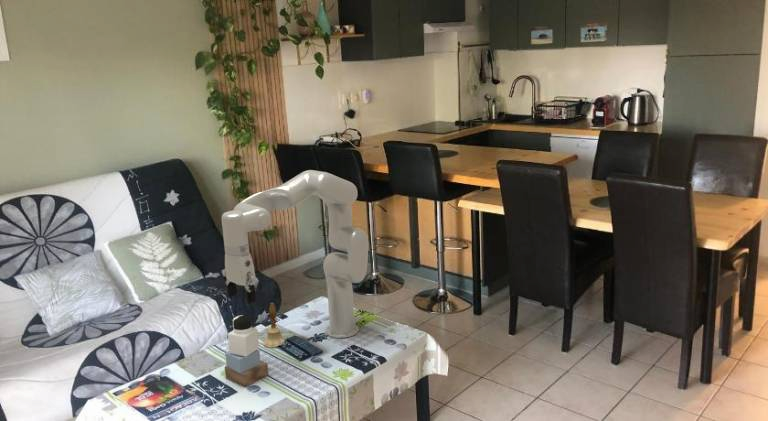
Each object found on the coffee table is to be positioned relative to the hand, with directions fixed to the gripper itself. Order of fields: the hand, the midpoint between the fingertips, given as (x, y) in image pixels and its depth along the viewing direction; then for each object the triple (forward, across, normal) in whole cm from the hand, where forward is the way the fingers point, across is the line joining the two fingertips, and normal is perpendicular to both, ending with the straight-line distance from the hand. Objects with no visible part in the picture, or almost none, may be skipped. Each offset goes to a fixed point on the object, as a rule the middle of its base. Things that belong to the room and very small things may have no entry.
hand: (242, 299), depth 214 cm
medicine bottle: (+18, 0, +1) cm, 18 cm away
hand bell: (+28, +12, -22) cm, 38 cm away
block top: (+23, 0, +2) cm, 23 cm away
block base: (+28, 0, +1) cm, 28 cm away
